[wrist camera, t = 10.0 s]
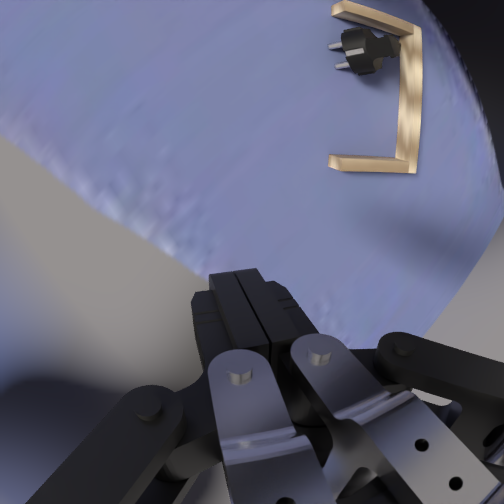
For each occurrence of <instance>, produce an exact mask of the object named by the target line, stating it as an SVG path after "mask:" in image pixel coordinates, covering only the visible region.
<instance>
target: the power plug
mask: <svg viewBox="0 0 504 504" xmlns="http://www.w3.org/2000/svg"><path fill="white" fill-rule="evenodd" d="M343 31H344V33H342V34H341V41H338V42H334V43H330V44H328V45H327V47H328V49H330V50H332V49H336V48H340V47H342V48H343V51H345V53H346V55H347V57H346V60H347V61H345V62H340V63H336V64H334V67H335V69H342V68H347V67H351V69H352V70H353V72H354V73H355V74H356V73H358V75H365V74H372V73H375V72H376V71H377V70H378V69H381V68H382V61H383V58H384V57H388V56H390V57H391V58H394V57H397V56H399V53H400V51H401V43H399V41H398V40H397V39H396V38H395V37H394V36H393V35H384V37H381V38H377V37H376V36H375V35H374V34H373V33H372V32H371V30H370V29H363V28H361V27H356V28H351V29H347V30H343Z"/></svg>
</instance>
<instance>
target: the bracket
mask: <svg viewBox="0 0 504 504" xmlns="http://www.w3.org/2000/svg"><path fill="white" fill-rule="evenodd" d="M331 11H332V16H334V17H338V18H342V19H346V20H350V21H353V22H357V23H360V24H364V25H367V26H370V27H374V28H377V29H380V30H383V31H386V32H389V33H392V34H395V35H397V36H399V42H400V43H401V51H400V93H399V116H398V132H397V145H396V156H395V158H391V157H377V156H359V155H333V154H329V162H328V166H329V167H331V168H334V169H337V170H339V171H366V172H397V173H416V168H417V159H418V149H419V138H420V125H421V107H422V36H421V27H418V26H416V25H414V24H411V23H409V22H407V21H404V20H402V19H399V18H397V17H394V16H391V15H389V14H386V13H383V12H381V11H378V10H375V9H372V8H369V7H366V6H363V5H360V4H356V3H353V2H350V1H346V0H343V1H341V2H339V3H337V4H334V5H332V6H331Z"/></svg>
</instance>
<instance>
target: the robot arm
mask: <svg viewBox="0 0 504 504" xmlns="http://www.w3.org/2000/svg"><path fill="white" fill-rule="evenodd" d="M191 308H192V315H193V324H194V332H195V340H196V344H197V348H198V352H199V356H200V361H201V365H202V369H203V374H202V375H201V377H200V378H199V379H198V380H197V381H196V382H195V383H193V384H192V385H190V386H188V387H187V388H184V389H182V390H180V391H177V392H173V391H172V390H170V389H168V388H165V387H163V386H157V385H146V386H141V387H138V388H135V389H133V390H131V391H130V392H128V393H127V394H126V395H125V396H123V397H122V399H121V400H120V401H119V402H118V403H117V404H116V405H115V406H114V407H113V409H112V410H111V411H110V412H109V413H108V414H107V415H106V416H105V417H104V418H103V419H102V420H101V422H100V423H99V424H98V425H97V426H96V427H95V428H94V429H93V430H92V432H91V433H90V434H89V435H88V436H87V437H86V438H85V439H84V440H83V441H82V442H81V443H80V445H79V446H78V447H77V448H76V449H75V450H74V451H73V452H72V453H71V454H70V456H69V457H68V458H67V459H66V460H65V461H64V462H63V463H62V464H61V465H60V466H59V467H58V469H57V470H56V471H55V472H54V473H53V474H52V475H51V476H50V477H49V478H48V479H47V480H46V482H45V483H44V484H43V485H42V486H41V487H40V488H39V489H38V490H37V491H36V492H35V494H34V495H33V496H32V497H31V498H30V499H29V500H28V501H27V502H26V503H25V504H181V502H182V501H183V499H184V497H185V496H186V494H187V493H188V491H189V490H190V488H191V486H192V485H193V483H194V482H195V480H196V479H197V477H198V475H199V473H200V472H202V471H204V470H206V469H208V468H210V467H212V466H214V465H216V464H217V463H219V462H221V461H222V465H223V470H224V474H225V479H226V484H227V488H228V493H229V497H230V502H231V504H504V363H502V362H498V361H495V360H492V359H489V358H485V357H482V356H478V355H475V354H472V353H469V352H466V351H462V350H459V349H456V348H453V347H449V346H446V345H443V344H440V343H437V342H433V341H430V340H427V339H424V338H421V337H418V336H415V335H412V334H408V333H404V332H391V333H388V334H386V335H384V336H383V337H381V339H380V340H379V343H378V346H377V349H348V348H347V347H346V346H345V345H344V344H343V343H342V342H341V341H340V340H338V339H336V338H334V337H332V336H329V335H325V334H320V333H319V332H318V330H317V329H316V328H315V326H314V325H313V324H312V322H311V321H310V320H309V318H308V317H307V316H306V314H305V313H304V312H303V310H302V309H301V307H299V305H298V303H297V302H296V301H295V299H293V297H292V295H291V294H290V293H289V291H288V290H287V289H286V288H285V287H284V286H282V285H280V284H279V283H277V282H275V281H269V282H265V280H264V279H263V277H262V276H261V274H260V273H259V271H258V270H257V269H256V268H253V269H245V270H238V271H233V272H232V271H231V272H223V273H216V274H209V290H208V291H200V292H195V294H194V296H193V299H192V301H191ZM413 388H414V389H418V390H421V391H424V392H427V393H430V394H433V395H436V396H440V397H443V398H446V399H449V400H452V402H451V403H450V404H448V405H445V406H438V405H435V404H432V403H429V402H426V401H423V400H421V399H420V398H418V397H417V396H416V395H415V394H414V393H412V392H411V391H412V389H413Z"/></svg>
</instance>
